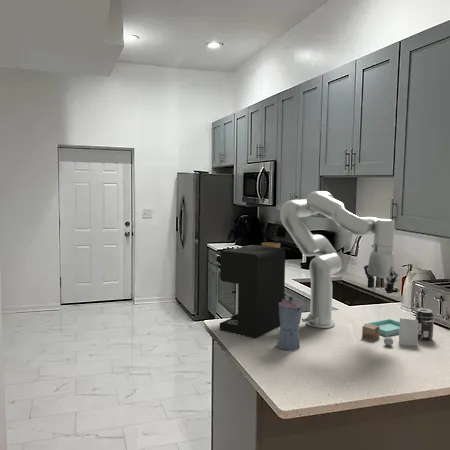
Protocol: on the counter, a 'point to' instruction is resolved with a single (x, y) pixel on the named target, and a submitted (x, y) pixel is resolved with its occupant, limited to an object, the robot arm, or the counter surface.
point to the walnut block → (370, 332)
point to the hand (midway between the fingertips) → (379, 290)
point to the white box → (408, 332)
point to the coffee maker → (254, 288)
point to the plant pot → (271, 244)
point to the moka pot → (289, 324)
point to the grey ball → (388, 341)
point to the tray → (387, 327)
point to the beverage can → (425, 323)
